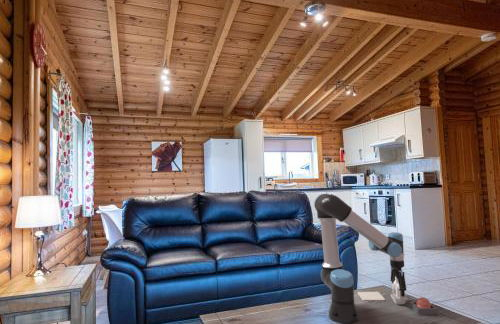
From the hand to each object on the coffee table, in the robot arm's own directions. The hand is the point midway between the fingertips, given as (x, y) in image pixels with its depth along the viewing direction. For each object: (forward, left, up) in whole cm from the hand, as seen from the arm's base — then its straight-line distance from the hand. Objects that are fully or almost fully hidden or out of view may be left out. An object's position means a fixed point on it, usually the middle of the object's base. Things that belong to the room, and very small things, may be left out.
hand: (398, 298), depth 189 cm
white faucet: (0, 0, -3) cm, 3 cm away
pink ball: (+9, -11, -4) cm, 15 cm away
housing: (+9, -11, -3) cm, 14 cm away
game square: (-13, +10, -3) cm, 17 cm away
